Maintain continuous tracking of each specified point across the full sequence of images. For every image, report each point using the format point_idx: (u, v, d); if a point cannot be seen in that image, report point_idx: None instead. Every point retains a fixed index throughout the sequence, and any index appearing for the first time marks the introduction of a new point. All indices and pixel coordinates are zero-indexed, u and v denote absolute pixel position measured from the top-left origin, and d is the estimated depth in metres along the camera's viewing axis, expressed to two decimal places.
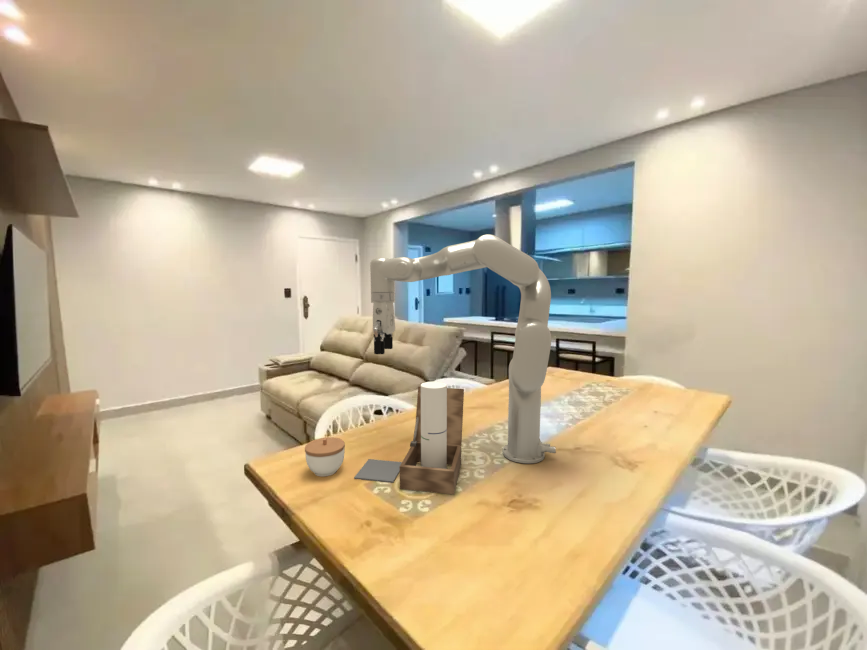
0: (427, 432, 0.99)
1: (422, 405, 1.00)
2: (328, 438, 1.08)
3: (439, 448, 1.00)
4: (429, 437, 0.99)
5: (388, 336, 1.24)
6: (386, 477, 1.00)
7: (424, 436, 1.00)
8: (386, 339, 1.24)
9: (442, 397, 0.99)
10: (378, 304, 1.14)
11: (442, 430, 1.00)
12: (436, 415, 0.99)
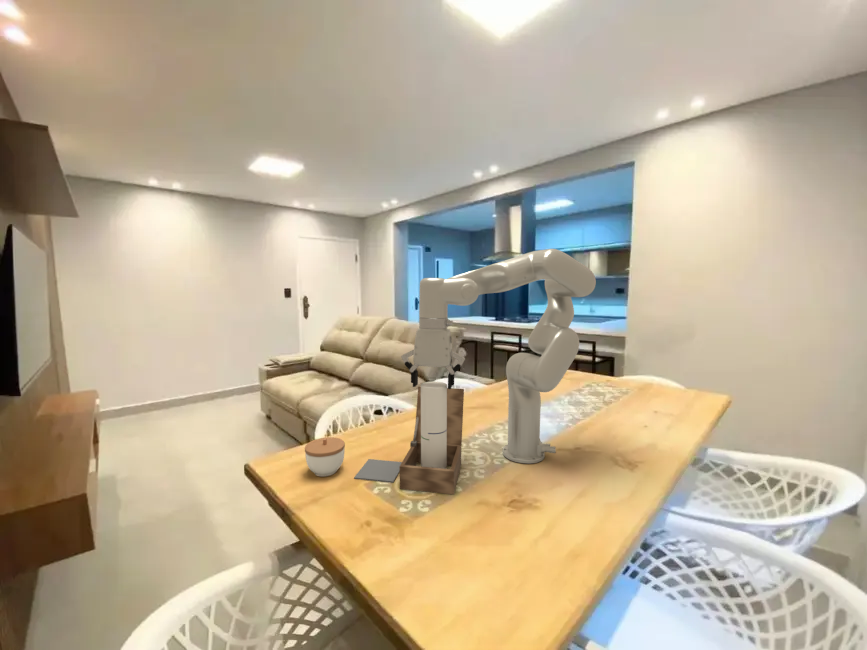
0: (427, 432, 0.99)
1: (422, 405, 1.00)
2: (328, 438, 1.08)
3: (439, 448, 1.00)
4: (429, 437, 0.99)
5: (416, 370, 1.02)
6: (386, 477, 1.00)
7: (424, 436, 1.00)
8: (416, 374, 1.01)
9: (442, 397, 0.99)
10: (449, 331, 0.99)
11: (442, 430, 1.00)
12: (436, 415, 0.99)
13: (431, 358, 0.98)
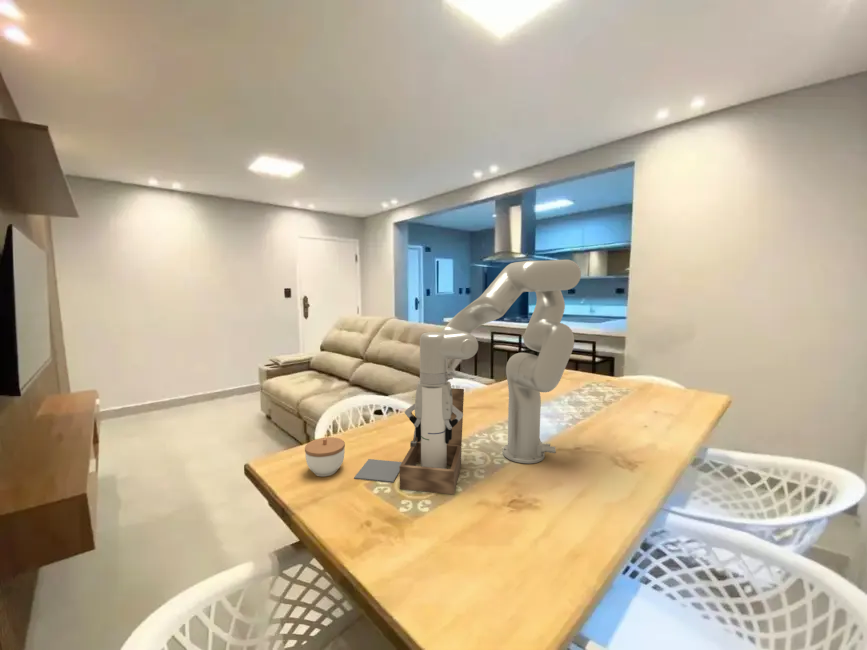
0: (427, 432, 0.99)
1: (422, 405, 1.00)
2: (328, 438, 1.08)
3: (439, 448, 1.00)
4: (429, 437, 0.99)
5: (420, 424, 1.03)
6: (386, 477, 1.00)
7: (424, 436, 1.00)
8: (420, 428, 1.03)
9: None
10: (449, 385, 1.00)
11: (442, 430, 1.00)
12: (436, 414, 0.99)
13: None
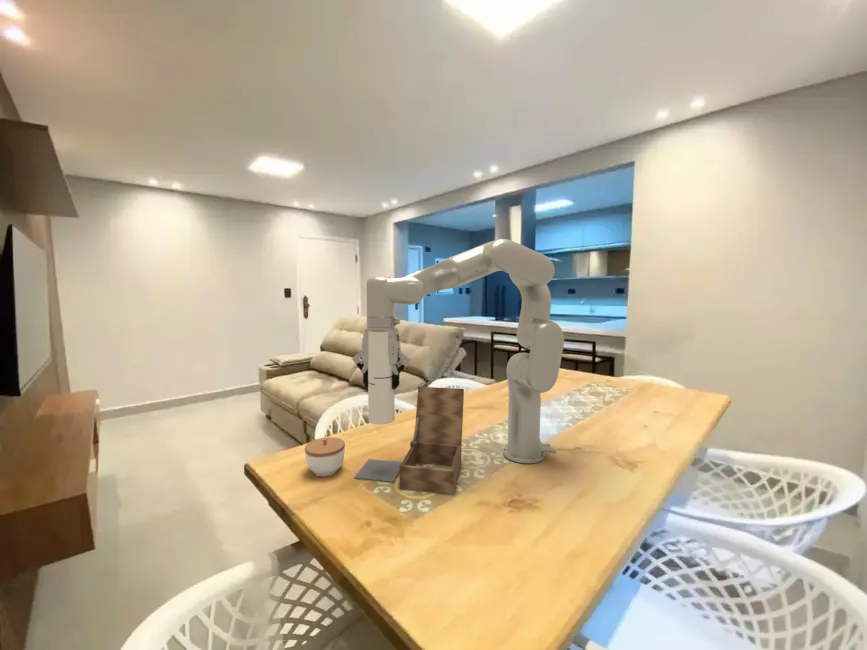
0: (373, 377, 0.99)
1: None
2: (328, 438, 1.08)
3: (385, 393, 0.99)
4: (375, 382, 0.99)
5: None
6: (386, 477, 1.00)
7: (370, 381, 0.99)
8: None
9: None
10: (396, 330, 1.00)
11: (388, 375, 0.99)
12: (382, 359, 0.98)
13: None
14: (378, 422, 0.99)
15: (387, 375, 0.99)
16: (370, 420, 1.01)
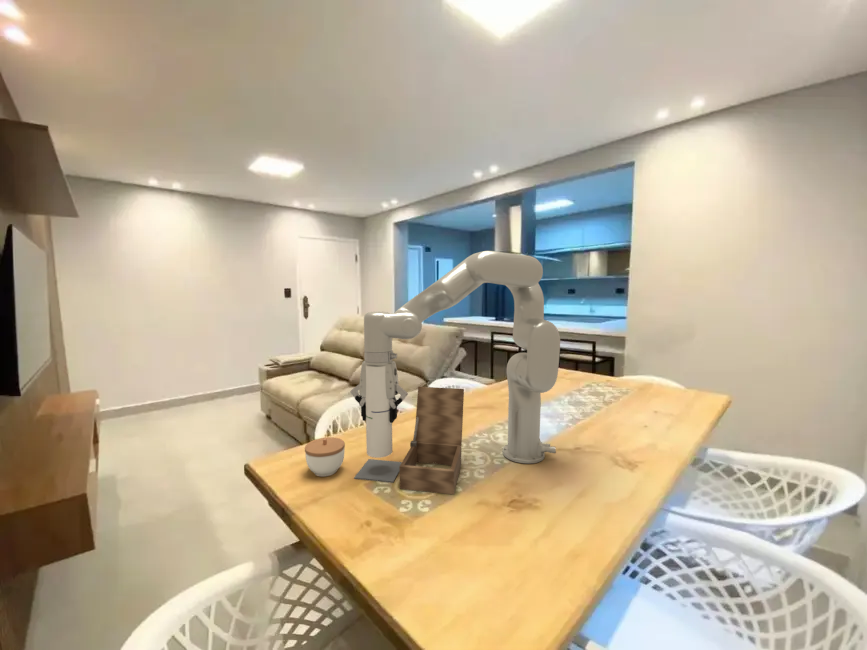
0: (370, 411, 1.00)
1: (366, 384, 1.00)
2: (328, 438, 1.08)
3: (383, 426, 1.00)
4: (372, 416, 1.00)
5: None
6: (386, 477, 1.00)
7: (368, 415, 1.00)
8: None
9: None
10: (394, 364, 1.01)
11: (386, 409, 1.00)
12: (379, 393, 0.99)
13: None
14: (376, 455, 1.00)
15: (385, 409, 1.00)
16: (368, 453, 1.02)
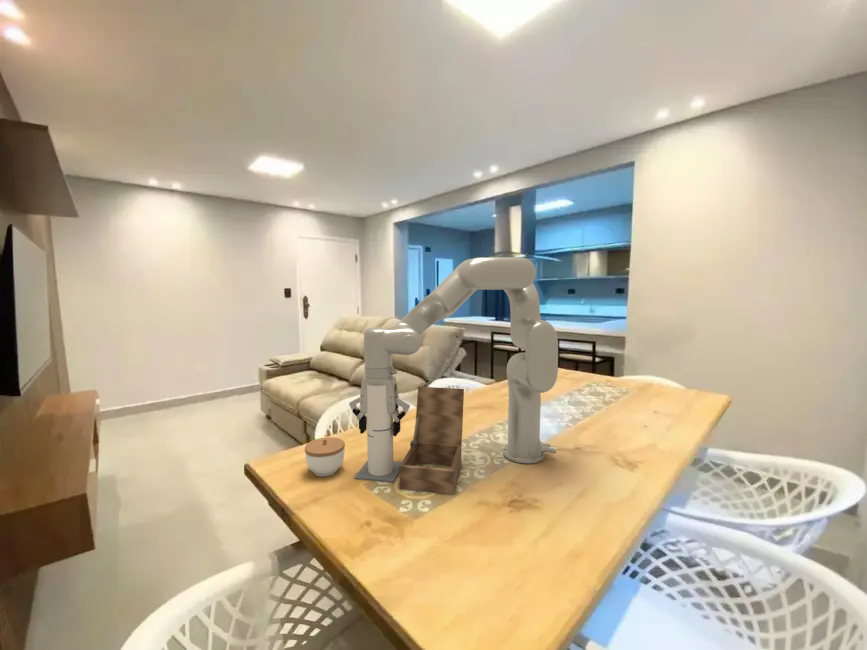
0: (372, 429, 1.00)
1: (367, 403, 1.01)
2: (328, 438, 1.08)
3: (384, 445, 1.01)
4: (374, 434, 1.00)
5: (364, 416, 1.04)
6: (386, 477, 1.00)
7: (369, 433, 1.01)
8: (364, 421, 1.04)
9: None
10: (394, 380, 1.01)
11: (387, 427, 1.01)
12: (380, 412, 0.99)
13: None
14: (377, 473, 1.01)
15: (386, 427, 1.00)
16: (369, 471, 1.02)
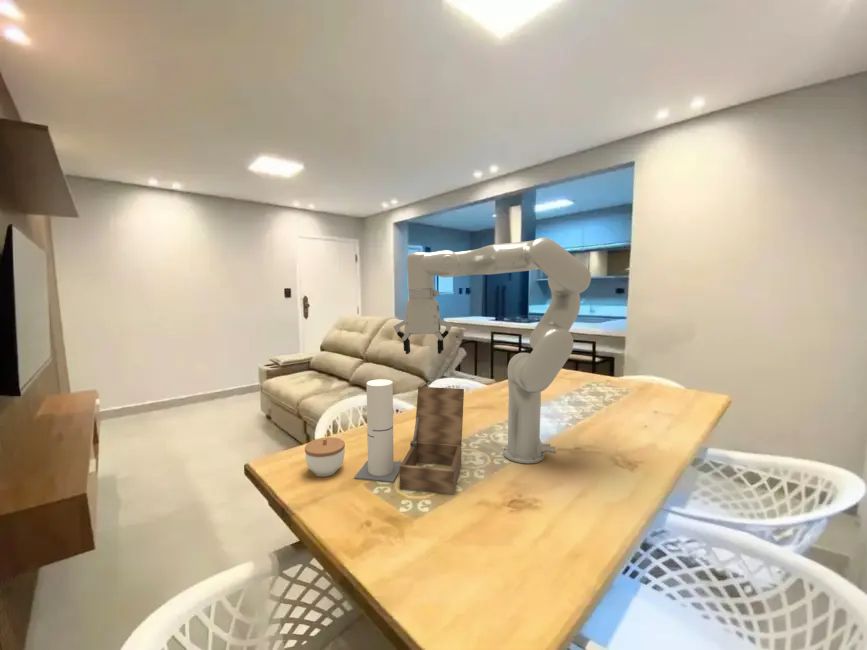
0: (372, 429, 1.00)
1: (367, 402, 1.01)
2: (328, 438, 1.08)
3: (384, 445, 1.01)
4: (374, 434, 1.00)
5: (408, 339, 1.11)
6: (386, 477, 1.00)
7: (369, 433, 1.01)
8: (408, 342, 1.10)
9: (387, 395, 1.00)
10: (436, 301, 1.08)
11: (387, 427, 1.01)
12: (381, 412, 0.99)
13: (421, 326, 1.07)
14: (377, 473, 1.01)
15: (386, 427, 1.00)
16: (369, 471, 1.02)
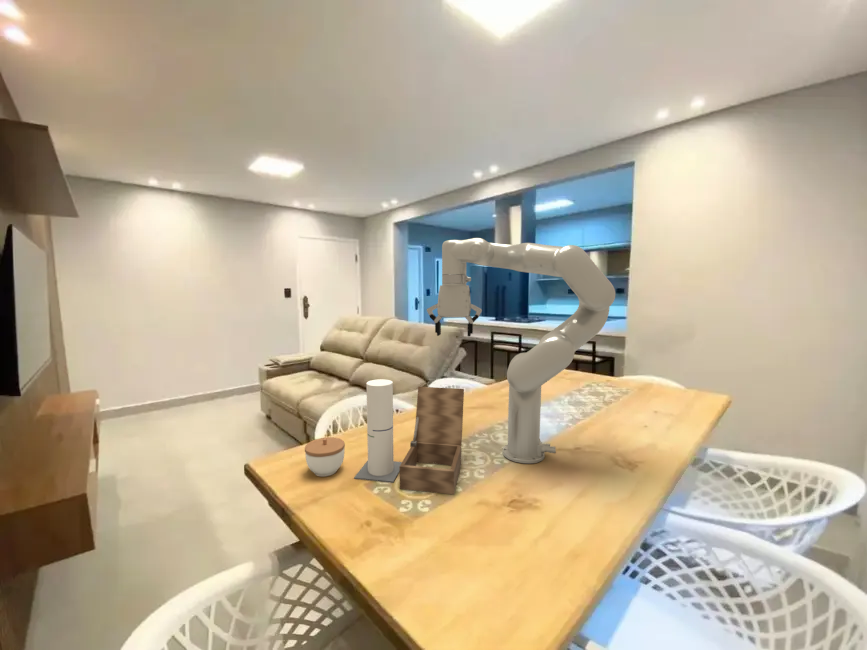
0: (372, 429, 1.00)
1: (367, 402, 1.01)
2: (328, 438, 1.08)
3: (384, 445, 1.01)
4: (374, 434, 1.00)
5: (439, 321, 1.18)
6: (386, 477, 1.00)
7: (369, 433, 1.01)
8: (439, 325, 1.17)
9: (387, 395, 1.00)
10: (468, 286, 1.15)
11: (387, 427, 1.01)
12: (381, 412, 0.99)
13: (453, 309, 1.14)
14: (377, 473, 1.01)
15: (386, 427, 1.00)
16: (369, 471, 1.02)
